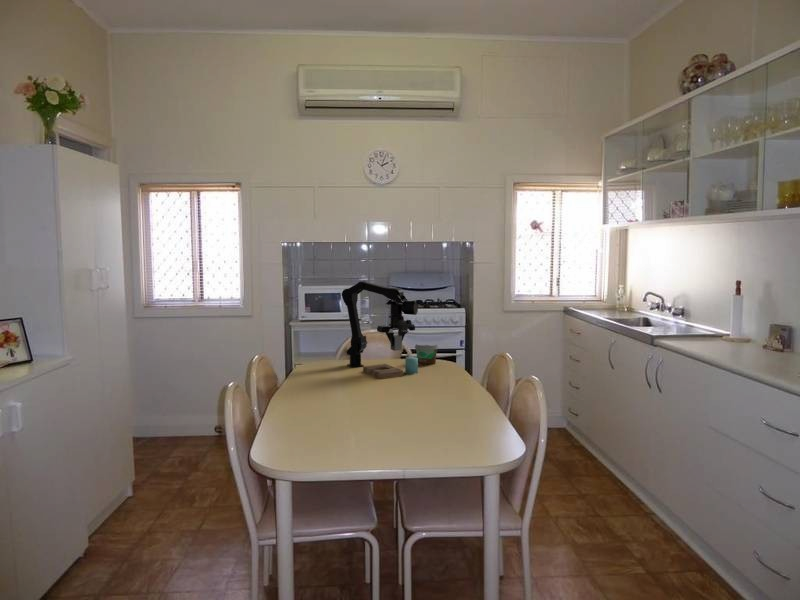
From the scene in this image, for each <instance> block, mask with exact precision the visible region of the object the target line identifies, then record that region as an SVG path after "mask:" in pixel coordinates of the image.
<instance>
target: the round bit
mask: <svg viewBox="0 0 800 600" xmlns="http://www.w3.org/2000/svg"><path fill="white" fill-rule="evenodd" d="M404 359H405V361H404V363H405V364H404V365H405V367H404V368H405V369H404V370H405V371H404V372H405V374H407V373H408V374H407V375H415V373H416V374H418V373H419V364H418V358H417V356H416V357H415V356H406V357H405V358H404Z"/></svg>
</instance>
